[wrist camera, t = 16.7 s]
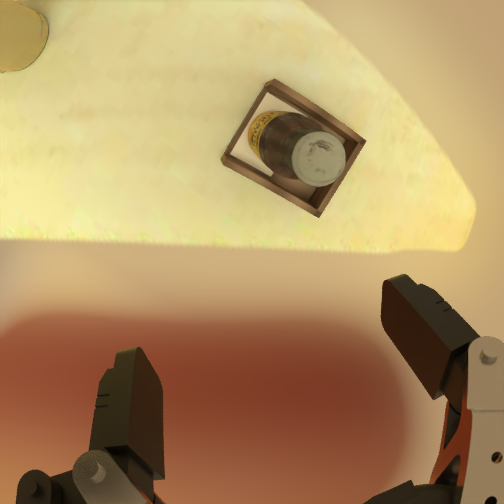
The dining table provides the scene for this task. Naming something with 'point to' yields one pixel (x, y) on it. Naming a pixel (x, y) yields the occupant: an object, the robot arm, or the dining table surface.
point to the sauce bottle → (297, 148)
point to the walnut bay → (252, 167)
